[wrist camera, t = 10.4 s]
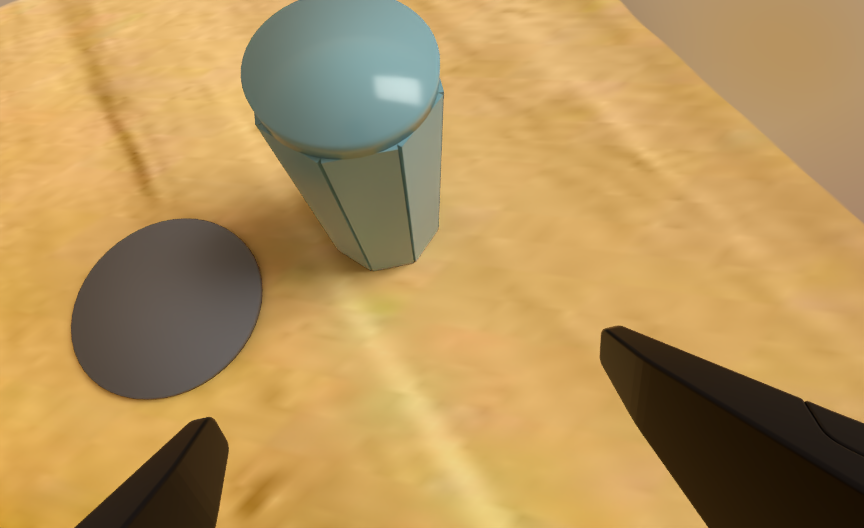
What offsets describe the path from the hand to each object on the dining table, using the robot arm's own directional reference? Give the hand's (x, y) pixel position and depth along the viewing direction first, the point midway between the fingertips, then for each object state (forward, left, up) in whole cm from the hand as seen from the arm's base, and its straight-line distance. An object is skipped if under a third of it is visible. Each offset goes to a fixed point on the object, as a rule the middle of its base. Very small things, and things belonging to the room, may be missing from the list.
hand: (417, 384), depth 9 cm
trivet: (-3, +16, -14) cm, 21 cm away
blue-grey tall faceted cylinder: (+8, +8, -14) cm, 18 cm away
